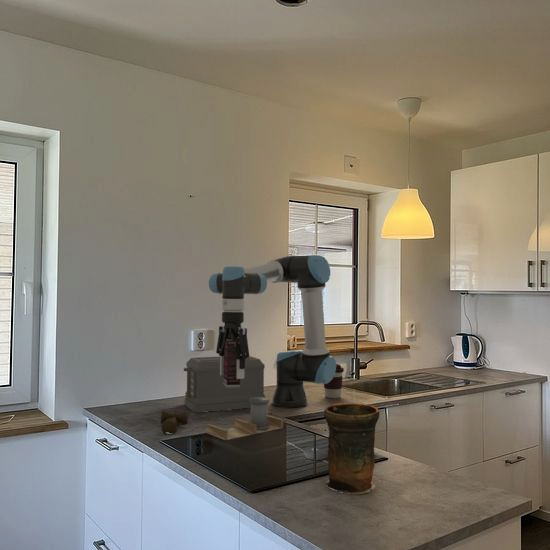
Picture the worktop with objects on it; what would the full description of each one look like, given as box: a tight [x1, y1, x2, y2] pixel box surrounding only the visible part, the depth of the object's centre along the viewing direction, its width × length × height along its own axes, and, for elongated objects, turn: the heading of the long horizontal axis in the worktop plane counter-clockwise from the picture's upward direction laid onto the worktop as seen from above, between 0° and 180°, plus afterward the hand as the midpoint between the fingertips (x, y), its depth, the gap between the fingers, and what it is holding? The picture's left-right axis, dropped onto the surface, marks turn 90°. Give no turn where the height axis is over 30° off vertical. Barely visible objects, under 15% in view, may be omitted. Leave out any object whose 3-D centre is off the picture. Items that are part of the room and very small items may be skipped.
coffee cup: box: [323, 363, 345, 399], centre depth 260 cm, size 10×10×15 cm
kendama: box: [160, 408, 189, 434], centre depth 203 cm, size 6×10×20 cm
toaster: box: [183, 355, 266, 413], centre depth 239 cm, size 19×34×20 cm, turn 113°
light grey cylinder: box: [249, 397, 270, 430], centre depth 199 cm, size 7×7×10 cm
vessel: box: [323, 402, 380, 496], centre depth 145 cm, size 14×14×20 cm
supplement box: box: [223, 339, 240, 388], centre depth 192 cm, size 9×5×16 cm, turn 13°
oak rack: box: [206, 414, 284, 441], centre depth 195 cm, size 25×11×4 cm, turn 130°
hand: (231, 376), depth 192 cm, fingers closed on supplement box, 9 cm apart
